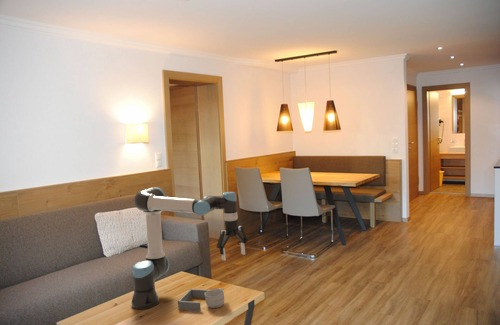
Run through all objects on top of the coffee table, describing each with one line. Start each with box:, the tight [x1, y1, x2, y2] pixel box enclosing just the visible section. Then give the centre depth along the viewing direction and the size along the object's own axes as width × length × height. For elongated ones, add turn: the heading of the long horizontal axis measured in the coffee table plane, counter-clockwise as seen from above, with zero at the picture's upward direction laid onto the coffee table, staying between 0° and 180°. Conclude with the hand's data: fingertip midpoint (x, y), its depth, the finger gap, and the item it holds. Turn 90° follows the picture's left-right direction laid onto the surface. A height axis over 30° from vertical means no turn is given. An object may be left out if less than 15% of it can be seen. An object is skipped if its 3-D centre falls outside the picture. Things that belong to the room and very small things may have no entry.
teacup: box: [204, 287, 225, 309], centre depth 226 cm, size 14×11×8 cm
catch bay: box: [177, 288, 209, 312], centre depth 230 cm, size 13×18×4 cm
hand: (233, 257), depth 228 cm, fingers open, 13 cm apart
